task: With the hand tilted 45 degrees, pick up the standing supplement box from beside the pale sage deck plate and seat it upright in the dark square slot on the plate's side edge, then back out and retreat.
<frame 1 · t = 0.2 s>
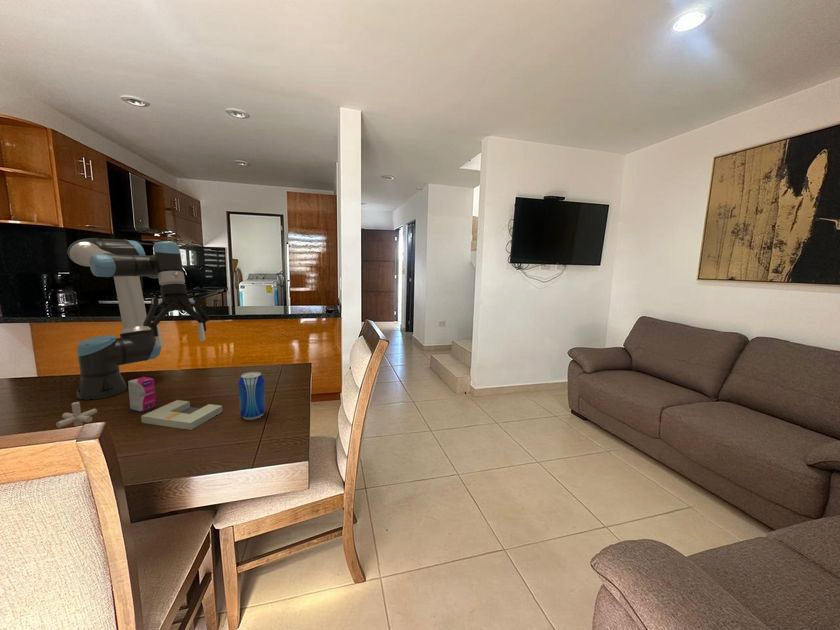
hand: (182, 343, 120), 27 cm above the table, tool tilted 15°, fingers open, 13 cm apart
deck: (183, 417, 121), on the table
beer can: (253, 416, 124), on the table
pipe connector: (79, 432, 109), on the table
supplement box: (143, 408, 127), on the table
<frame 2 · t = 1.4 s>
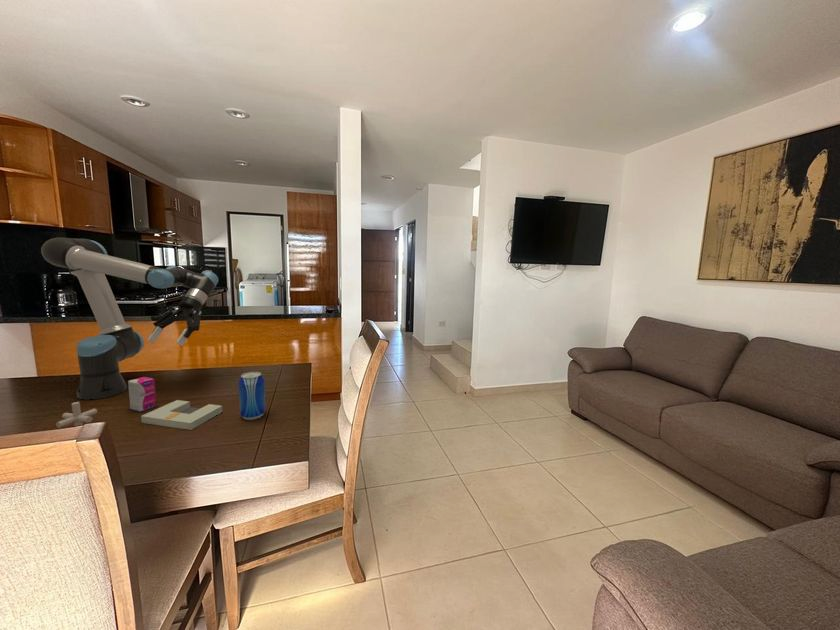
hand: (164, 342, 134), 23 cm above the table, tool tilted 45°, fingers open, 13 cm apart
nothing on the table moved.
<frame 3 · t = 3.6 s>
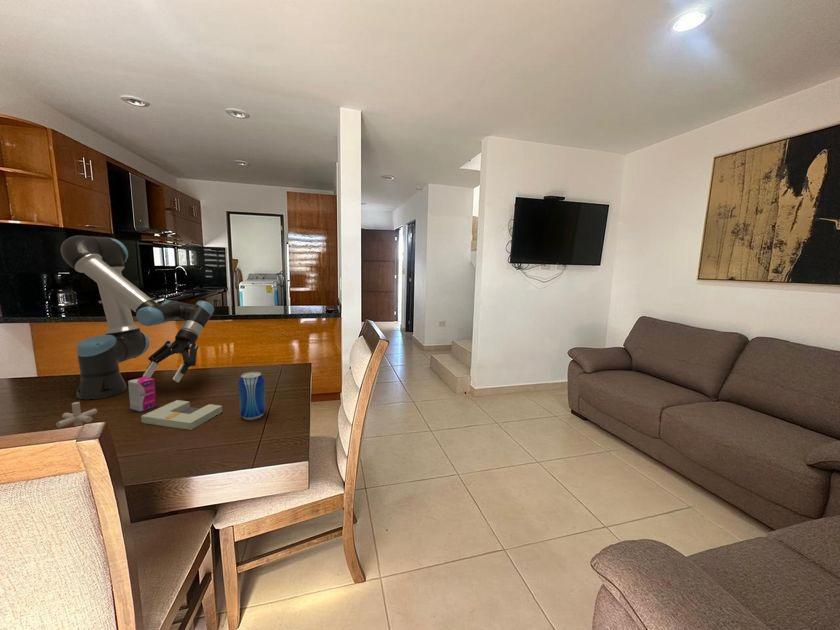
hand: (160, 379, 131), 10 cm above the table, tool tilted 45°, fingers open, 13 cm apart
nothing on the table moved.
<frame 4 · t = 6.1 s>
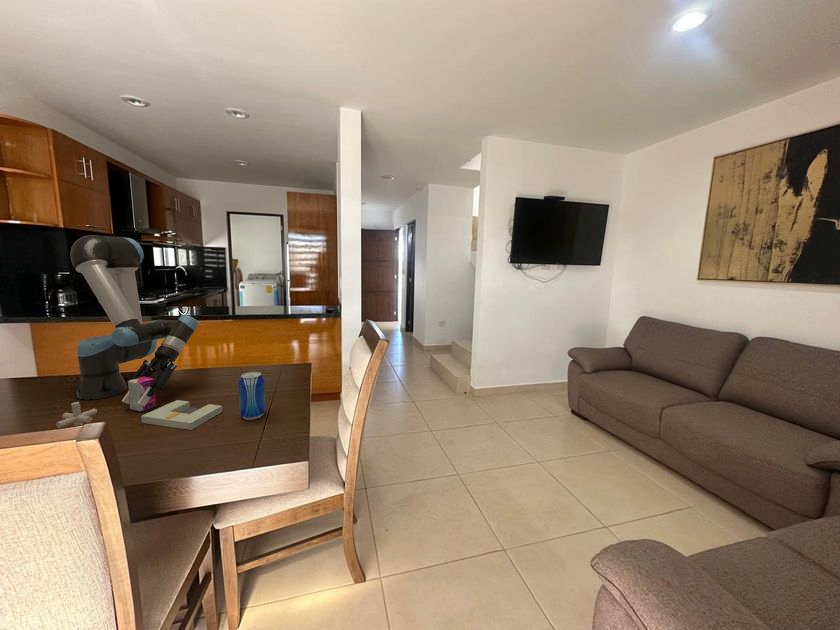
hand: (133, 403, 123), 3 cm above the table, tool tilted 45°, fingers closed on supplement box, 6 cm apart
supplement box: (143, 408, 127), on the table, touching gripper
everything else where it was.
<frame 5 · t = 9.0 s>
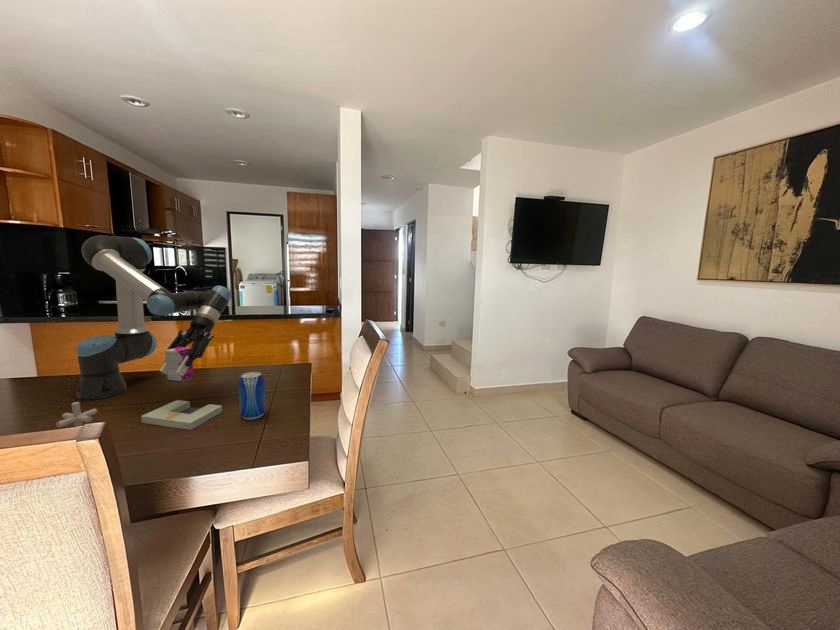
hand: (171, 373, 118), 17 cm above the table, tool tilted 45°, fingers closed on supplement box, 6 cm apart
supplement box: (181, 379, 122), point 13 cm above the table, touching gripper
everything else where it was.
when the fingers open (5 cm above the table, at t = 12.0 s): supplement box drops 1 cm, resting on deck.
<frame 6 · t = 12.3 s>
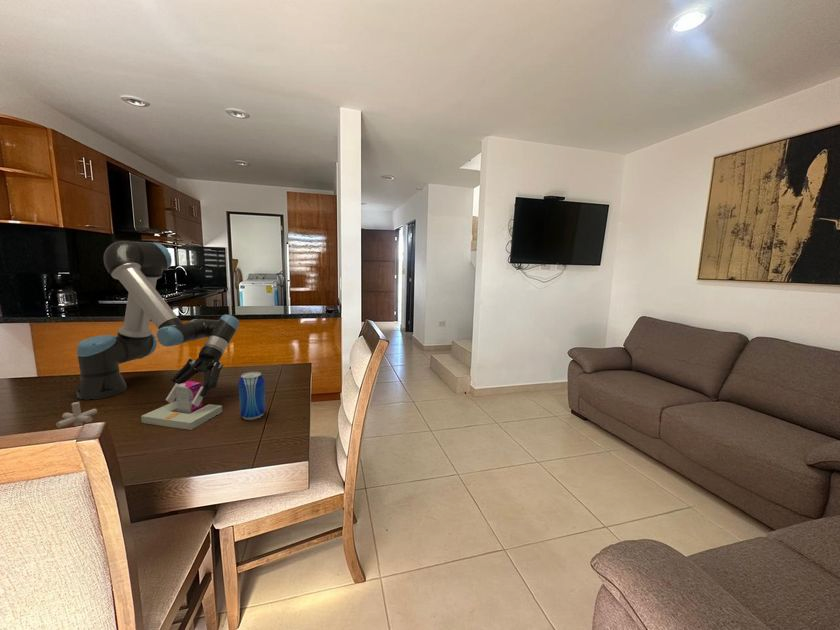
hand: (181, 403, 120), 6 cm above the table, tool tilted 45°, fingers open, 10 cm apart
supplement box: (190, 413, 124), resting on deck
everything else where it was.
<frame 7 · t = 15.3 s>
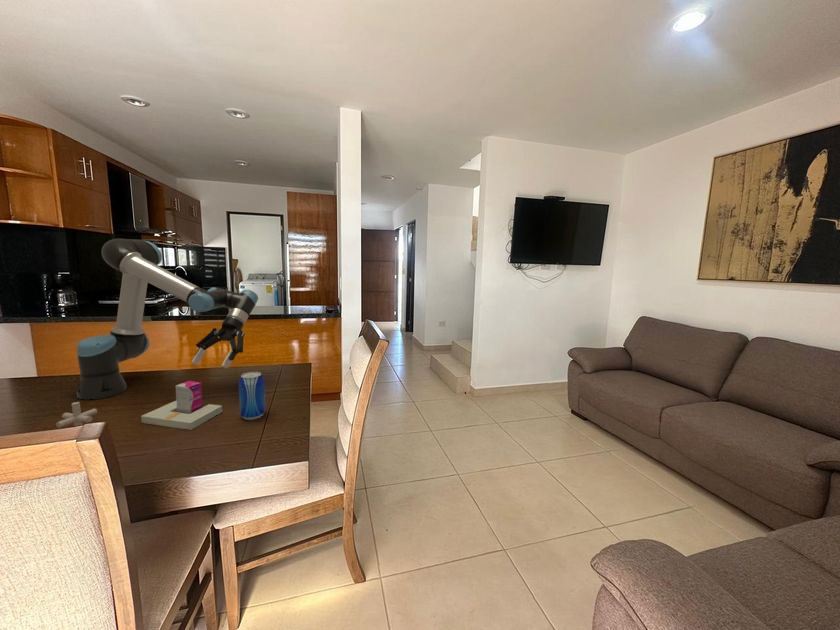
hand: (209, 365, 131), 16 cm above the table, tool tilted 45°, fingers open, 13 cm apart
nothing on the table moved.
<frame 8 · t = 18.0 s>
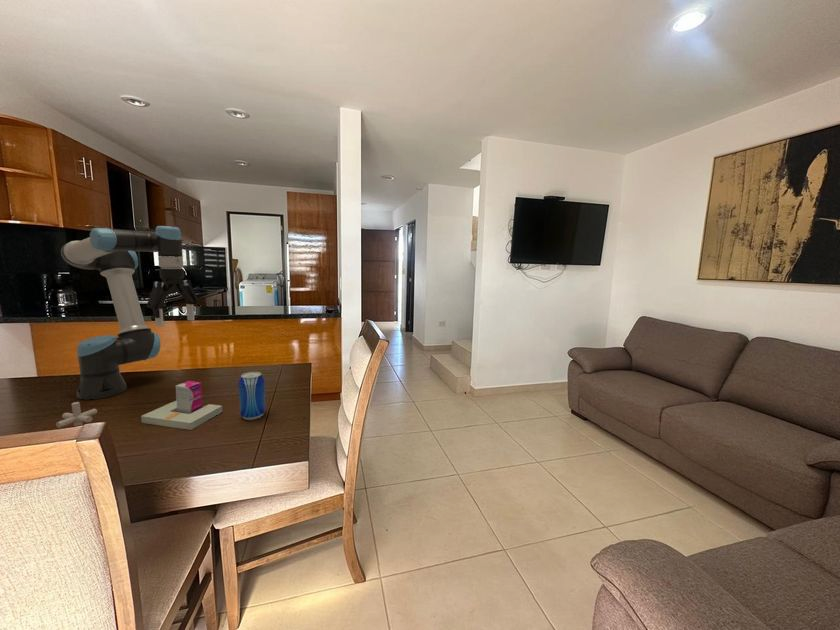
hand: (176, 323, 131), 32 cm above the table, tool pointing down, fingers open, 13 cm apart
nothing on the table moved.
at the end: supplement box 0.2 cm from the target spot on the deck, point 0.1 cm above the deck's base; supplement box tilted 0°; the gripper is holding nothing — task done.
